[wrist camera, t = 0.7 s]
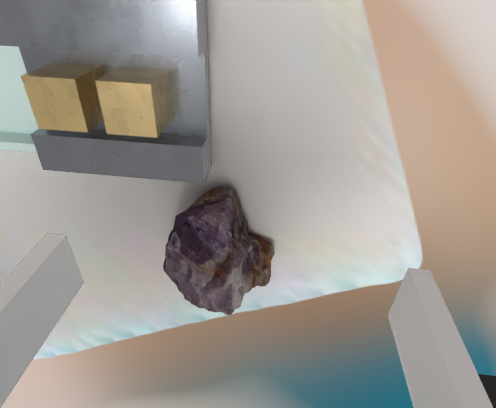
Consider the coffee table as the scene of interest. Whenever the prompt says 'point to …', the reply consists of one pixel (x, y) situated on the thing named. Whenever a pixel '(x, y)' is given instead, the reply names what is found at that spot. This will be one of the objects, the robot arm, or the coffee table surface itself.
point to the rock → (216, 253)
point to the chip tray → (14, 103)
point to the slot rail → (128, 56)
